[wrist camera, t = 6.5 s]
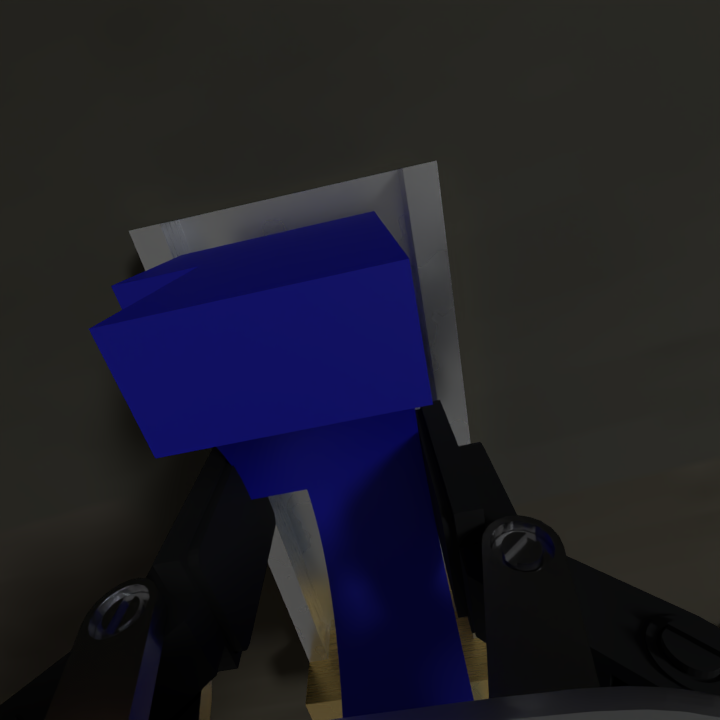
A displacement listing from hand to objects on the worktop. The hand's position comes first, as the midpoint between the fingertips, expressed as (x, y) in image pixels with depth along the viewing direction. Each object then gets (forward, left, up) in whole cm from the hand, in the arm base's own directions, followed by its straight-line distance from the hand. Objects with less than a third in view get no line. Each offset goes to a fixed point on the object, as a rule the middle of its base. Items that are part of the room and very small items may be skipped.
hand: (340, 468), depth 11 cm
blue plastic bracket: (0, 0, -1) cm, 1 cm away
